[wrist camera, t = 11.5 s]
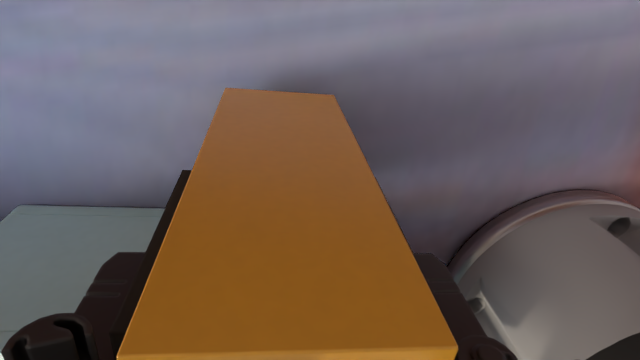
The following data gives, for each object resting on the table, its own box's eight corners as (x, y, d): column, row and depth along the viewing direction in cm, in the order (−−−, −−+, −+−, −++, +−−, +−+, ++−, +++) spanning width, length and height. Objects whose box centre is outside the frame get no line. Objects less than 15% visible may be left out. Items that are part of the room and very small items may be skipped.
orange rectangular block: (225, 87, 18) (114, 356, 5) (334, 94, 18) (460, 348, 6) (226, 184, 20) (151, 529, 8) (323, 187, 21) (398, 508, 8)
